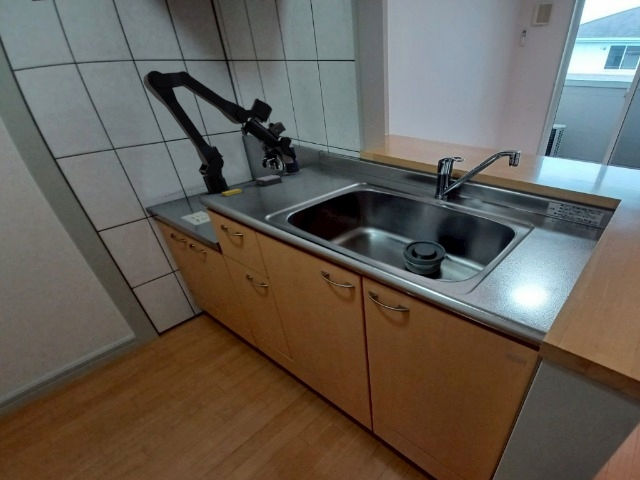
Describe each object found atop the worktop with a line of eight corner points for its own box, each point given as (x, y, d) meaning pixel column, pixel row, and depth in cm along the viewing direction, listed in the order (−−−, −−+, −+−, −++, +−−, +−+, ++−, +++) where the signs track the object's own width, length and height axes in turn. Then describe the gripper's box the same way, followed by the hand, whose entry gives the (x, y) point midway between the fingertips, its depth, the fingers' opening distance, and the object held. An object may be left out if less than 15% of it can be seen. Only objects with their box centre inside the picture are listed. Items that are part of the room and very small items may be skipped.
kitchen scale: (265, 186, 125) (263, 180, 124) (257, 185, 129) (255, 178, 128) (282, 182, 129) (280, 175, 128) (273, 180, 134) (271, 174, 132)
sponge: (226, 196, 116) (225, 193, 116) (222, 195, 118) (221, 192, 118) (242, 192, 120) (241, 189, 119) (238, 191, 122) (237, 188, 121)
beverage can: (301, 173, 144) (294, 143, 137) (289, 175, 141) (281, 145, 135) (298, 171, 148) (290, 143, 141) (285, 174, 145) (278, 145, 139)
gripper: (280, 113, 124) (311, 141, 136) (259, 116, 136) (290, 141, 148) (267, 139, 124) (300, 164, 136) (248, 140, 136) (279, 162, 148)
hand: (292, 157), depth 142 cm, fingers closed on beverage can, 5 cm apart
